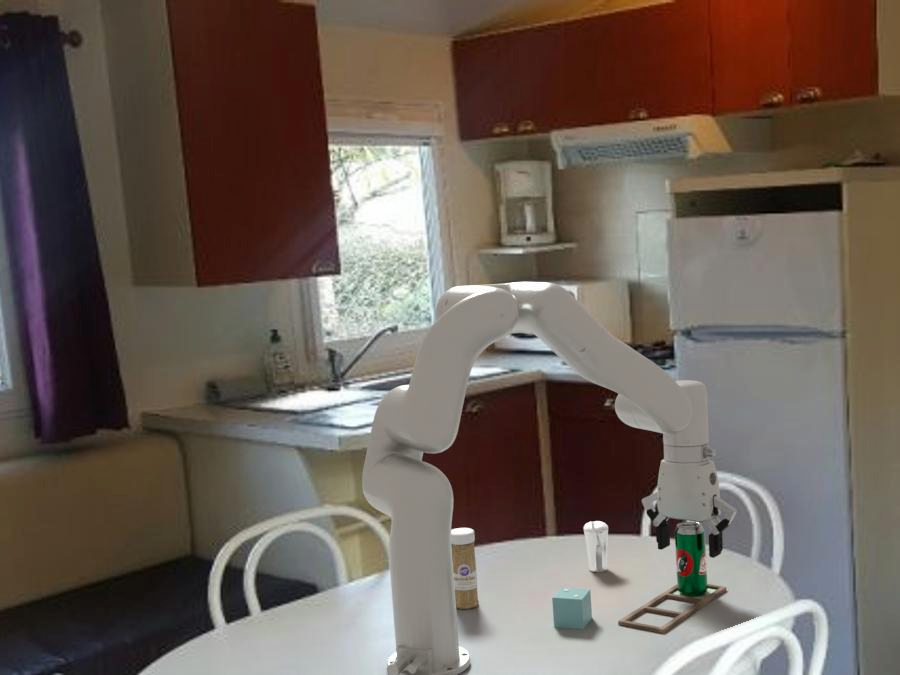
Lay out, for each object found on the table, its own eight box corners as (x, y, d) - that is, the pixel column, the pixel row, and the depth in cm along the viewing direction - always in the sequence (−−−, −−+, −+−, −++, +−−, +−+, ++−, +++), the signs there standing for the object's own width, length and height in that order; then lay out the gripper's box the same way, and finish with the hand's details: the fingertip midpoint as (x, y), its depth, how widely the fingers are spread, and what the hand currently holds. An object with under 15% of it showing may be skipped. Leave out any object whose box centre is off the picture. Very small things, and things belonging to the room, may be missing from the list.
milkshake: (583, 574, 207) (580, 522, 206) (588, 565, 212) (585, 514, 211) (607, 575, 206) (604, 522, 205) (612, 566, 211) (609, 514, 210)
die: (583, 629, 180) (581, 599, 180) (554, 627, 182) (552, 597, 182) (592, 618, 185) (590, 588, 184) (563, 616, 187) (561, 587, 186)
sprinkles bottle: (457, 611, 193) (452, 535, 191) (450, 603, 197) (444, 529, 195) (482, 607, 194) (477, 531, 192) (474, 599, 198) (469, 525, 197)
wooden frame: (663, 633, 176) (662, 629, 176) (618, 624, 181) (618, 621, 181) (726, 590, 193) (726, 587, 193) (683, 583, 198) (683, 580, 198)
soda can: (708, 597, 190) (704, 528, 189) (677, 597, 191) (674, 529, 190) (707, 587, 195) (704, 520, 193) (678, 587, 196) (674, 521, 195)
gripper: (743, 453, 188) (746, 553, 189) (651, 445, 199) (655, 539, 200) (723, 462, 182) (726, 564, 183) (630, 453, 193) (634, 550, 194)
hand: (689, 551), depth 192 cm, fingers open, 9 cm apart
